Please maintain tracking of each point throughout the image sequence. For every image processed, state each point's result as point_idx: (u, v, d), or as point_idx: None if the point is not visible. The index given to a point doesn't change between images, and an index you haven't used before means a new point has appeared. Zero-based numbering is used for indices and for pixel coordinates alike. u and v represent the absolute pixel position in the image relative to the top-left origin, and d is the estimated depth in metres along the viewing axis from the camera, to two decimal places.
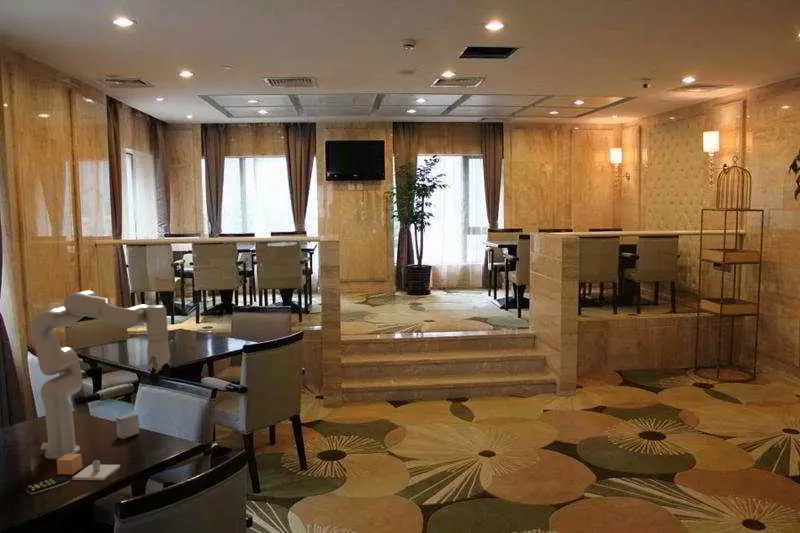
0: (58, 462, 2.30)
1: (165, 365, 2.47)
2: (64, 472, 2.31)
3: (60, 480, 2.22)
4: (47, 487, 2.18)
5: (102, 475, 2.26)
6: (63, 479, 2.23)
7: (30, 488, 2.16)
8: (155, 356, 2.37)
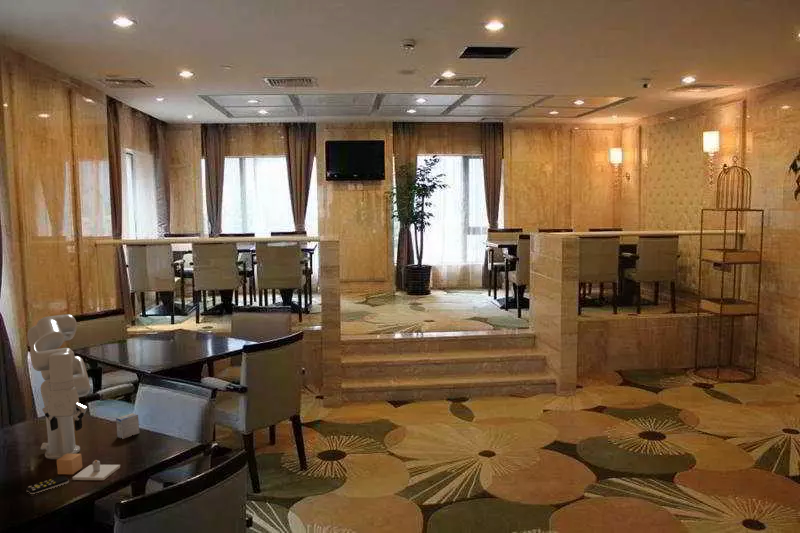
0: (58, 462, 2.30)
1: (53, 418, 2.32)
2: (64, 472, 2.31)
3: (60, 480, 2.22)
4: (47, 487, 2.18)
5: (102, 475, 2.26)
6: (63, 479, 2.23)
7: (30, 488, 2.16)
8: (78, 401, 2.31)
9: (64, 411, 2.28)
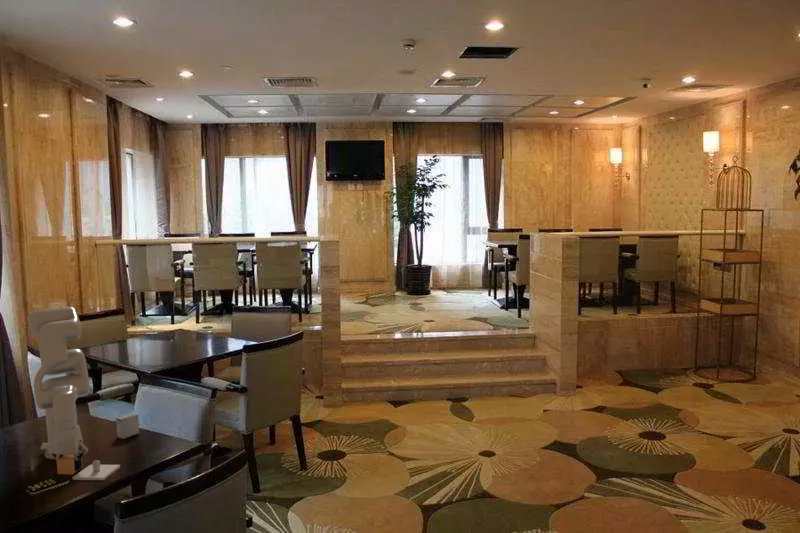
0: (58, 462, 2.30)
1: None
2: (64, 472, 2.31)
3: (60, 480, 2.22)
4: (48, 487, 2.18)
5: (102, 475, 2.26)
6: (63, 479, 2.23)
7: (30, 488, 2.16)
8: (81, 439, 2.33)
9: (67, 449, 2.30)
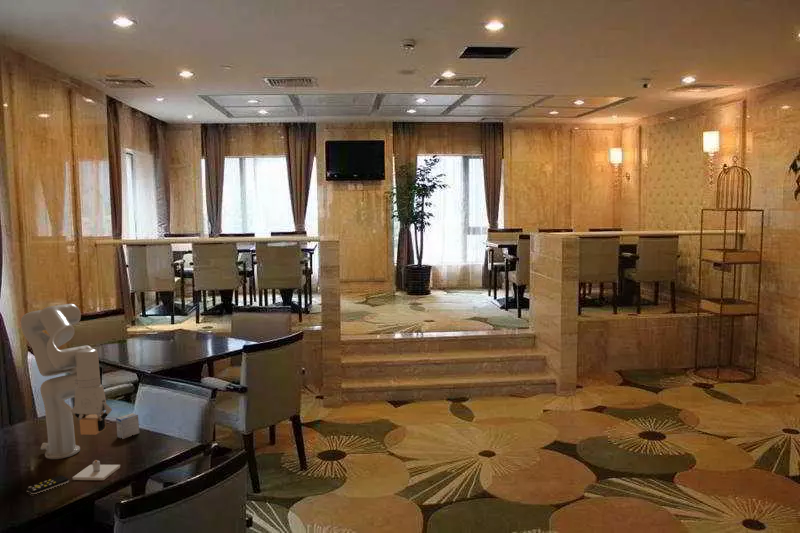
0: (81, 422, 2.26)
1: None
2: (87, 432, 2.26)
3: (60, 480, 2.22)
4: (48, 487, 2.18)
5: (102, 475, 2.26)
6: (63, 479, 2.23)
7: (31, 488, 2.16)
8: (104, 399, 2.28)
9: (91, 409, 2.25)
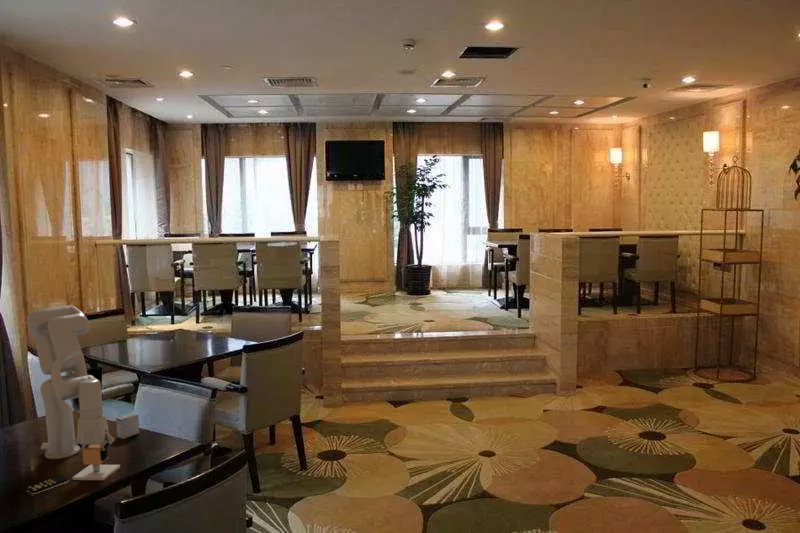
0: (84, 452, 2.27)
1: None
2: (90, 462, 2.27)
3: (60, 480, 2.22)
4: (48, 487, 2.18)
5: (102, 475, 2.26)
6: (63, 478, 2.23)
7: (31, 489, 2.16)
8: (107, 429, 2.29)
9: (94, 439, 2.26)
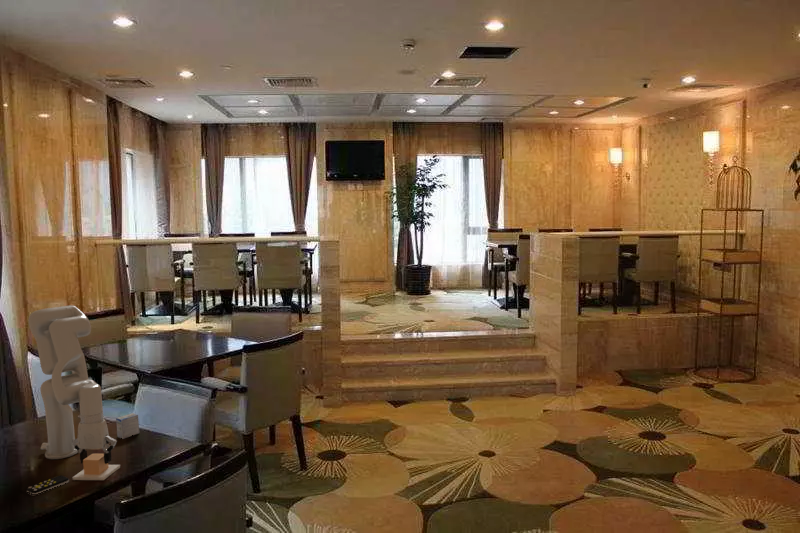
0: (84, 462, 2.27)
1: (83, 450, 2.30)
2: (90, 472, 2.27)
3: (60, 480, 2.22)
4: (49, 487, 2.18)
5: (102, 475, 2.26)
6: (63, 478, 2.24)
7: (31, 489, 2.16)
8: (107, 434, 2.29)
9: (94, 444, 2.26)
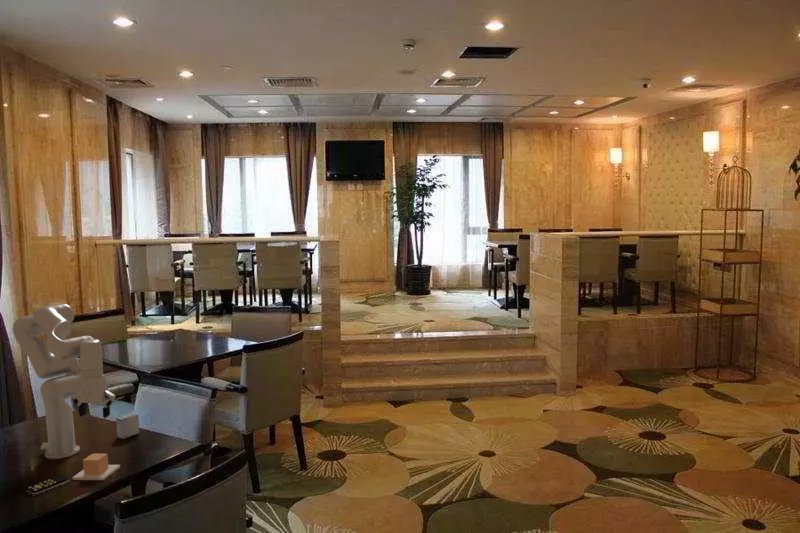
0: (84, 462, 2.27)
1: (82, 404, 2.34)
2: (90, 472, 2.27)
3: (60, 480, 2.23)
4: (49, 487, 2.18)
5: (102, 475, 2.26)
6: (63, 478, 2.24)
7: (31, 489, 2.16)
8: (106, 389, 2.33)
9: (93, 398, 2.30)
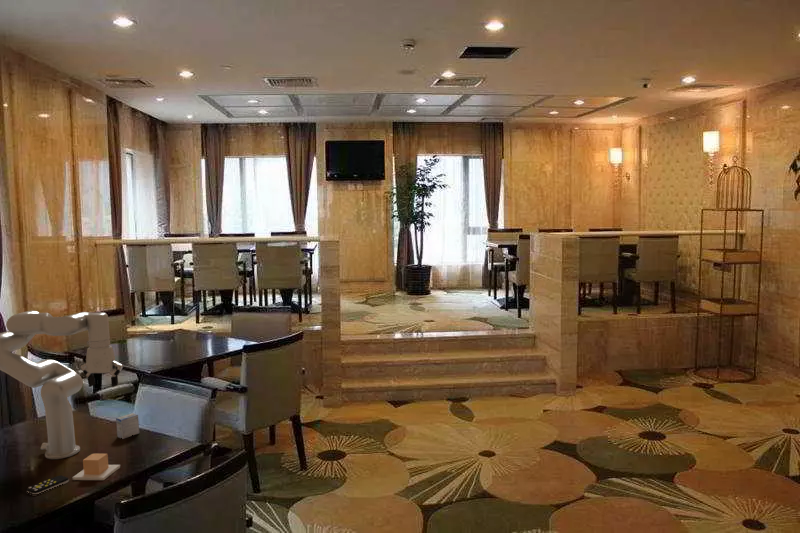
0: (84, 462, 2.27)
1: (91, 375, 2.46)
2: (90, 472, 2.27)
3: (60, 479, 2.23)
4: (49, 486, 2.18)
5: (102, 475, 2.26)
6: (63, 478, 2.24)
7: (31, 489, 2.16)
8: (114, 359, 2.45)
9: (101, 368, 2.42)
